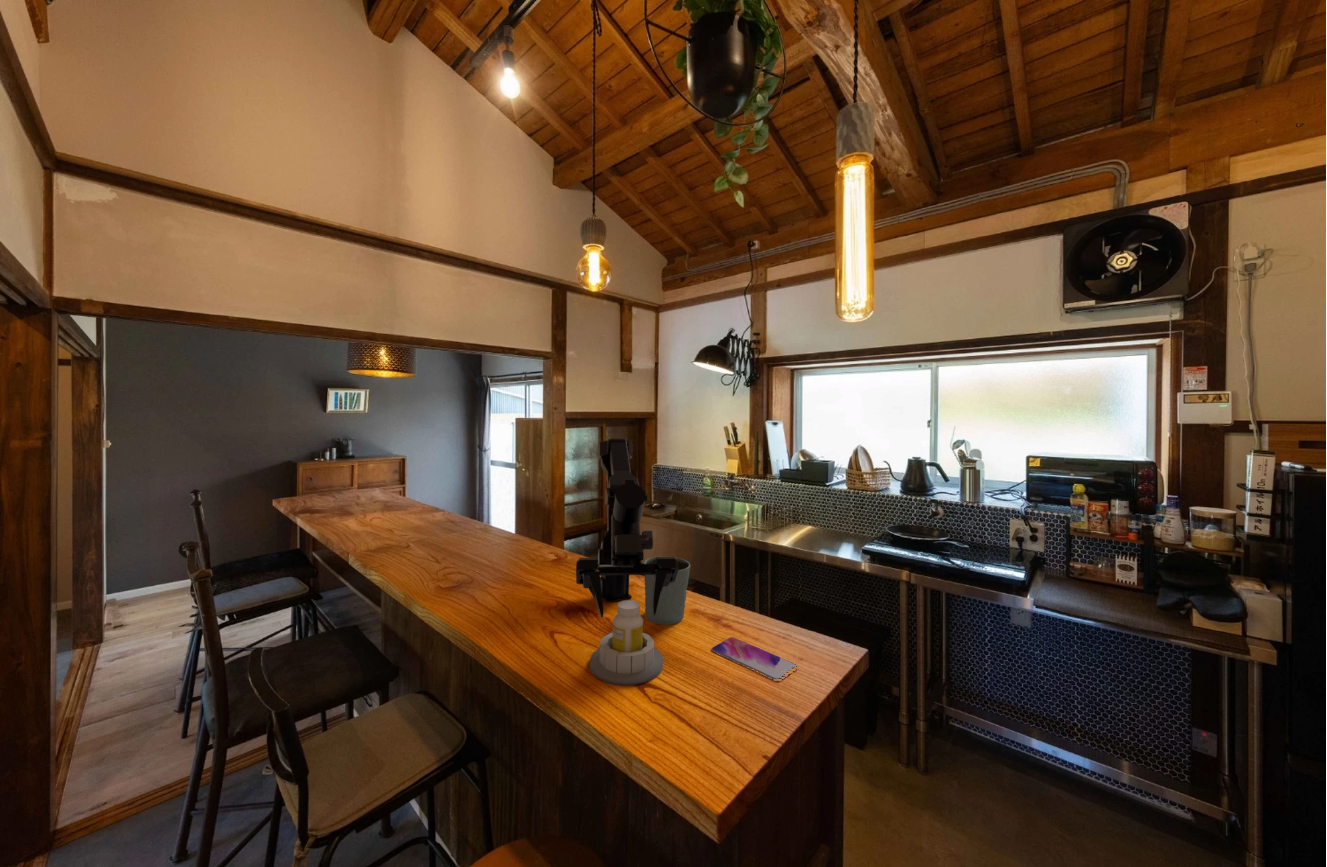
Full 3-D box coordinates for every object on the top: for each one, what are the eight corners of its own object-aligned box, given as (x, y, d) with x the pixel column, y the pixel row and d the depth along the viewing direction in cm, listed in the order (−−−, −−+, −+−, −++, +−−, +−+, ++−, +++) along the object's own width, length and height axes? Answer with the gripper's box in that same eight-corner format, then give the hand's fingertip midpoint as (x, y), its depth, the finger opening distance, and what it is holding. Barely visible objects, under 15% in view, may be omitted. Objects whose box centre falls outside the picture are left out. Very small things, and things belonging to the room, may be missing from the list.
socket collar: (643, 641, 94) (644, 621, 94) (676, 674, 83) (677, 651, 83) (579, 655, 88) (580, 634, 88) (605, 693, 77) (606, 668, 77)
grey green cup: (635, 611, 108) (636, 558, 108) (674, 604, 113) (676, 553, 113) (655, 629, 99) (656, 572, 99) (697, 621, 104) (698, 566, 104)
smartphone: (778, 681, 81) (709, 648, 91) (778, 686, 81) (709, 653, 92) (800, 665, 86) (731, 636, 97) (799, 669, 86) (731, 640, 97)
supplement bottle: (642, 651, 88) (644, 598, 88) (641, 666, 83) (643, 611, 83) (612, 650, 88) (614, 597, 88) (610, 665, 83) (612, 610, 82)
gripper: (577, 514, 87) (573, 597, 77) (678, 514, 90) (688, 595, 80) (578, 545, 96) (574, 624, 85) (670, 544, 98) (678, 620, 88)
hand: (628, 615), depth 84 cm, fingers open, 9 cm apart
